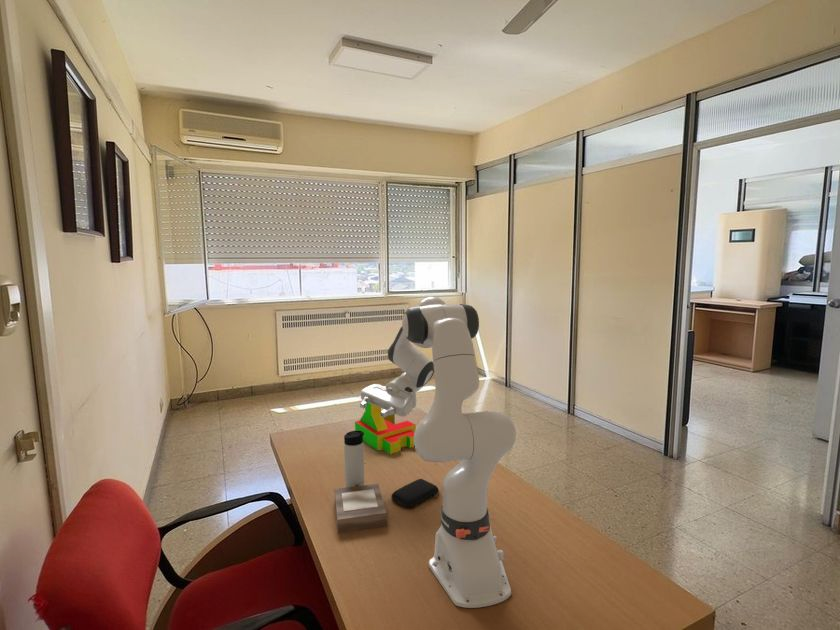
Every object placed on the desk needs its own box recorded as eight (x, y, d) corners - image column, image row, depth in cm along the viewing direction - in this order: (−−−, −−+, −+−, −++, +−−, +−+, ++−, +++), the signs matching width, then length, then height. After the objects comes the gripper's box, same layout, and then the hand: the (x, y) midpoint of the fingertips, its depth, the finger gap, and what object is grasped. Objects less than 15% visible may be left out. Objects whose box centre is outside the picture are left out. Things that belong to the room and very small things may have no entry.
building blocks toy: (385, 456, 172) (384, 411, 170) (355, 436, 192) (354, 395, 190) (424, 444, 183) (423, 402, 181) (391, 425, 203) (391, 387, 201)
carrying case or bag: (411, 514, 134) (443, 495, 144) (411, 504, 133) (443, 486, 144) (388, 500, 141) (420, 483, 152) (388, 491, 141) (420, 475, 151)
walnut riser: (386, 525, 128) (386, 512, 127) (337, 532, 125) (337, 519, 124) (378, 494, 144) (378, 482, 144) (335, 500, 141) (334, 488, 140)
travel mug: (361, 495, 144) (360, 436, 141) (342, 492, 145) (340, 435, 143) (367, 485, 150) (366, 429, 148) (349, 483, 152) (347, 427, 149)
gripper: (374, 376, 164) (348, 393, 154) (419, 392, 153) (394, 412, 143) (376, 390, 167) (350, 408, 156) (419, 408, 155) (395, 428, 145)
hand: (371, 410), depth 149 cm, fingers open, 8 cm apart
